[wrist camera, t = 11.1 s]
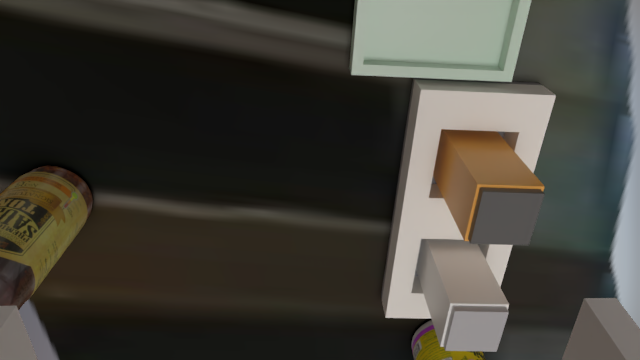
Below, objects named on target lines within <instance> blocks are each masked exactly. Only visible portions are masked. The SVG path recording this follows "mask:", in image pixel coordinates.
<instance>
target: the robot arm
mask: <svg viewBox="0 0 640 360" xmlns="http://www.w3.org/2000/svg"><path fill="white" fill-rule="evenodd" d="M0 360H38V359H37V357H36V354H35V352H34V349H33V346H32V344H31V341H30V339H29V336H28V334H27V331H26V329H25V326H24V324H23V321H22V319H21V316H20V313H19V311H18V308H17V306H0ZM562 360H640V329H639V327H638V326H637V325H636V323H635V322H634V321H633V319H632V318H631V317H630V315H629V314H628V313H627V311H626V310H625V309H624V308H623V306H622V305H621V304H620V302H619V301H618V300H617V298H584V300H583V303H582V306H581V309H580V311H579V314H578V317H577V320H576V323H575V325H574V328H573V331H572V334H571V336H570V339H569V342H568V345H567V347H566V350H565V353H564V356H563V358H562Z"/></svg>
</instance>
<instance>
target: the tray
mask: <svg viewBox="0 0 640 360" xmlns="http://www.w3.org/2000/svg"><path fill="white" fill-rule="evenodd" d="M530 4H531V0H355V5H354V17H353V29H352V41H351V53H350V65H349V69H350V72H351V75H366V76H388V77H410V78H433V79H455V80H478V81H500V82H512V78H513V74H514V70H515V66H516V62H517V58H518V53H519V49H520V45H521V41H522V37H523V33H524V29H525V25H526V21H527V16H528V12H529V8H530Z"/></svg>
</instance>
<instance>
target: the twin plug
mask: <svg viewBox="0 0 640 360" xmlns="http://www.w3.org/2000/svg"><path fill="white" fill-rule="evenodd" d="M416 271H417V274H418V277H419V281H420V284H421V287H422V290H423V293H424V297H425V300H426V303H427V306H428V309H429V312H430V316H431V319H432V322H433V325H434V328H435V331H436V335H437V338H438V341H439V344H440V347H444V349H445V351H492V352H497V349H498V345H499V342H500V339H501V336H502V333H503V329H504V326H505V323H506V320H507V316H508V313H509V312H508V307H509V303H508V301H507V299H506V298H505V296H504V294H503V292H502V290H501V288H500V286H499V284H498V282H497V280H496V278H495V276H494V274H493V273H492V271H491V269H490V267H489V265H488V263H487V261H486V259H485V257H484V255H483V253H482V251H481V250H480V248H479V246H478V244H470V242H469V241H464V240H454V239H422V240H421V245H420V251H419V256H418V262H417V267H416Z"/></svg>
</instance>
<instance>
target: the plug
mask: <svg viewBox="0 0 640 360" xmlns="http://www.w3.org/2000/svg"><path fill="white" fill-rule="evenodd" d="M433 177H434V179H435V181H436V184H437V186H438V188H439V190H440V192H441V194H442V196H443V198H444V200H445V202H446V204H447V206H448V208H449V210H450V212H451V214H452V216H453V219H454V221H455V223H456V225H457V227H458V229H459V231H460V233H461V235H462V237H463V239H464V241H469V242H470V244H497V245H529V243H530V240H531V237H532V234H533V230H534V227H535V224H536V221H537V217H538V214H539V211H540V208H541V204H542V201H543V198H544V195H545V194H544V192H543V190H544V187H545V186H544V185H543V184H542V183H541V182H540V181H539V179H538V178H537V177H536V176H535V175H534V174H533V173H532V171H531V170H530V169H529V168H528V167H527V166H526V164H525V163H524V162H523V161H522V160H521V159H520V157H519V156H518V155H517V154H516V153H515V152H514V151H513V149H512V148H511V147H510V146H509V145H508V144H507V142H506V141H505V140H504V139H503V138H502V137H501V135H500V134H499V133H498V132H497V131H474V130H449V129H441V134H440V140H439V145H438V150H437V156H436V161H435V167H434V172H433Z"/></svg>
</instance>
